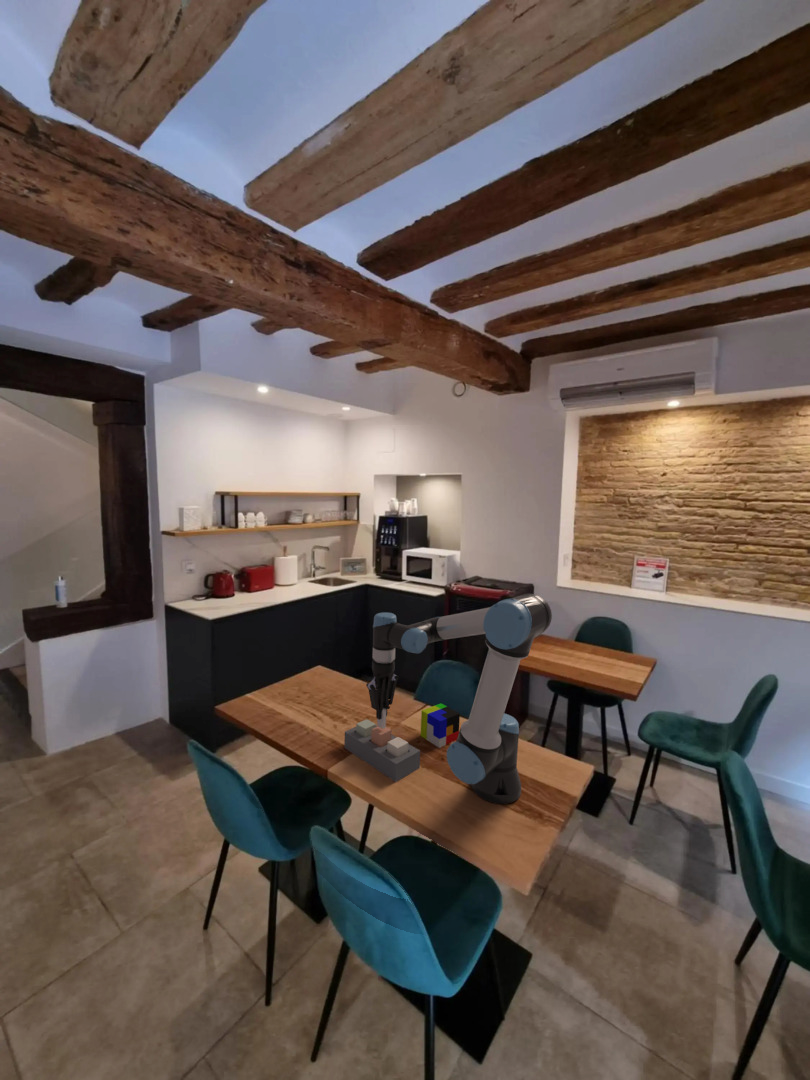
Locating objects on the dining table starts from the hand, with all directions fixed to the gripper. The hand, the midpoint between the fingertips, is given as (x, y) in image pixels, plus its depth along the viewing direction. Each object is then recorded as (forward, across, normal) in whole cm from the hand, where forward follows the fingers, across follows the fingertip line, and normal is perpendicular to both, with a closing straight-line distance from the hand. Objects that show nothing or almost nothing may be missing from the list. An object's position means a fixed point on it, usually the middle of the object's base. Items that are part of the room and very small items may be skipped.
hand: (381, 726), depth 154 cm
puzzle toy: (+11, -25, +5) cm, 28 cm away
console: (+11, 0, 0) cm, 11 cm away
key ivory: (+10, 0, +8) cm, 13 cm away
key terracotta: (+9, 0, 0) cm, 9 cm away
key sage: (+10, 0, -8) cm, 12 cm away
